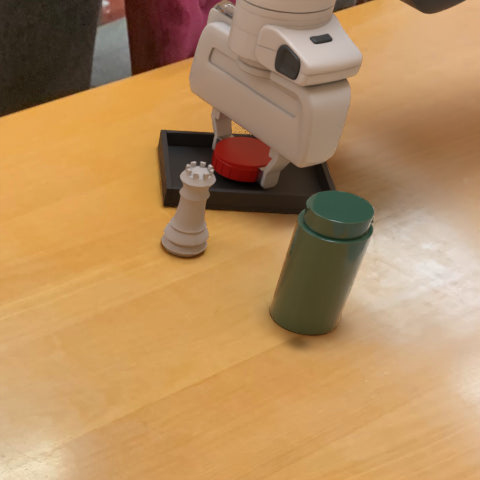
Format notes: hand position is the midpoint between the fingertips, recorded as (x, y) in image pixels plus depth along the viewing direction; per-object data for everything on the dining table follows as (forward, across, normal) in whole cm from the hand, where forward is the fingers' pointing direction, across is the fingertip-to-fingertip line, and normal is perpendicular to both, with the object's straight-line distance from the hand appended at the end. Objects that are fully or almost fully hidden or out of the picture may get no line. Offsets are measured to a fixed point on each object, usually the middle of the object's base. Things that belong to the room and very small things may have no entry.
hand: (243, 168), depth 95 cm
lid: (-2, 0, 0) cm, 2 cm away
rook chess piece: (+1, +9, -13) cm, 16 cm away
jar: (+1, +23, -10) cm, 25 cm away
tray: (+1, 0, 0) cm, 1 cm away
